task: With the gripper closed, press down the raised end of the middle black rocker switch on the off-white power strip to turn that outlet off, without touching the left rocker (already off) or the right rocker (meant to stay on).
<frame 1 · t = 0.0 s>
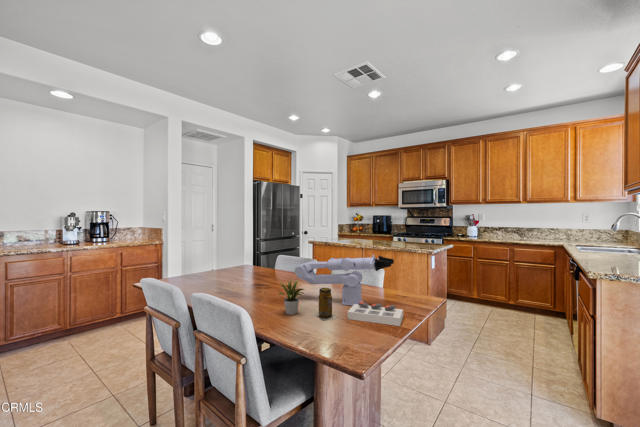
hand: (392, 262, 137), 22 cm above the table, tool horizontal, fingers open, 7 cm apart
condiment: (326, 316, 128), on the table
power strip: (375, 317, 125), on the table
house plant: (289, 314, 132), on the table
rocker right: (390, 307, 125), point 4 cm above the table, hinge at -12.0°
rocker middle: (376, 306, 127), point 4 cm above the table, hinge at -12.0°
rocker left: (363, 304, 130), point 4 cm above the table, hinge at 12.0°
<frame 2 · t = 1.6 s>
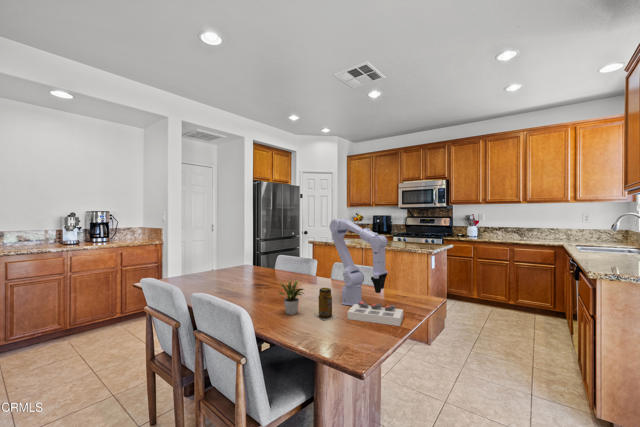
hand: (379, 290, 134), 9 cm above the table, tool pointing down, fingers open, 7 cm apart
nothing on the table moved.
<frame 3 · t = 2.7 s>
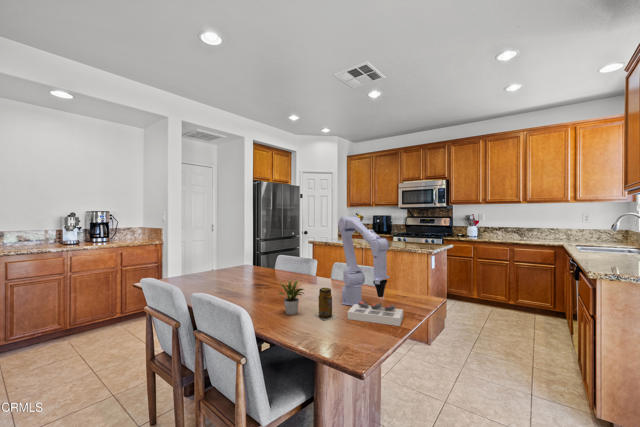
hand: (380, 296, 127), 9 cm above the table, tool pointing down, fingers closed
nothing on the table moved.
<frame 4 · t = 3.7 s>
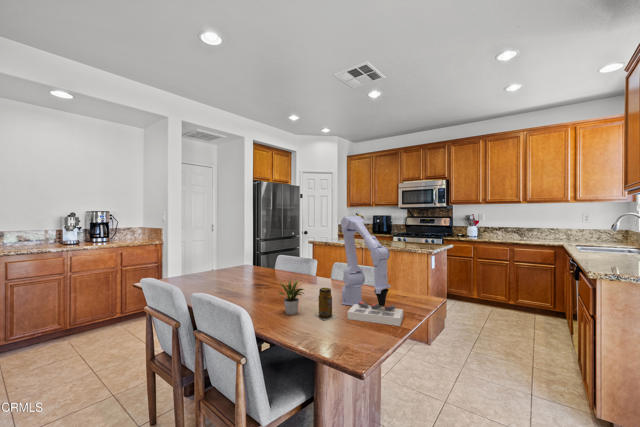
hand: (381, 305, 126), 5 cm above the table, tool pointing down, fingers closed, pressing on rocker middle
rocker middle: (376, 306, 127), point 4 cm above the table, hinge at -10.4°, touching gripper
everything else where it was.
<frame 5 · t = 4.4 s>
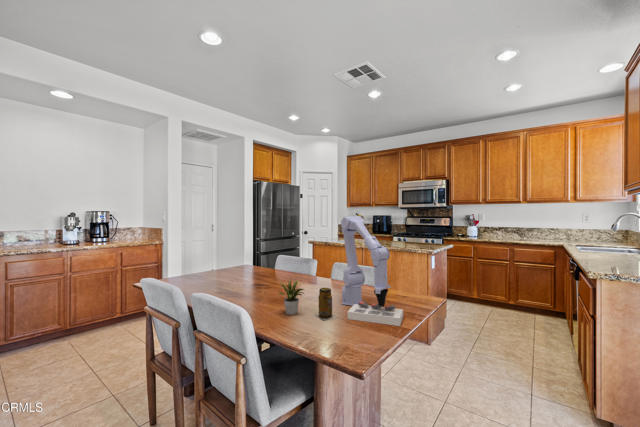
hand: (381, 306, 126), 5 cm above the table, tool pointing down, fingers closed, pressing on rocker middle
rocker middle: (376, 306, 127), point 4 cm above the table, hinge at -4.2°, touching gripper
everything else where it was.
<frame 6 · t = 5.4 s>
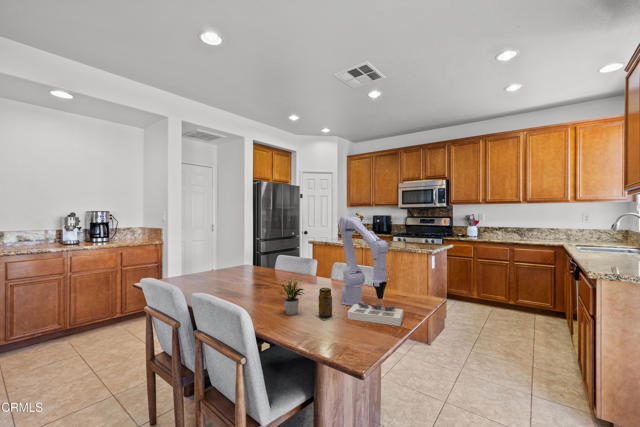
hand: (380, 298, 127), 8 cm above the table, tool pointing down, fingers closed
rocker middle: (376, 306, 127), point 4 cm above the table, hinge at 3.3°
everything else where it was.
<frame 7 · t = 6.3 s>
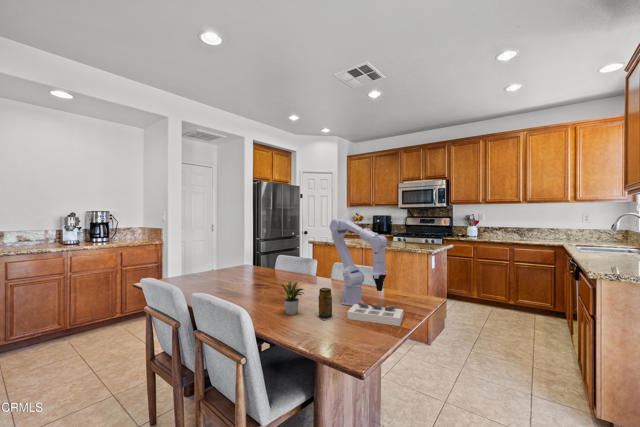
hand: (379, 290, 134), 9 cm above the table, tool pointing down, fingers closed
rocker middle: (376, 306, 127), point 4 cm above the table, hinge at 8.3°
everything else where it was.
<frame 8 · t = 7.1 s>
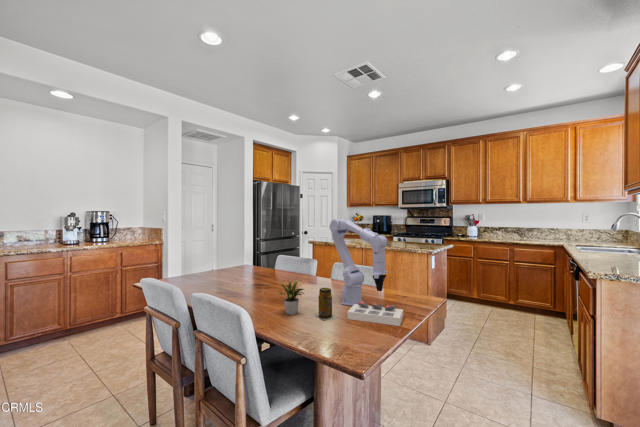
hand: (379, 290, 134), 9 cm above the table, tool pointing down, fingers closed
rocker middle: (376, 306, 127), point 4 cm above the table, hinge at 12.0°
everything else where it was.
at the end: rocker middle at +12° (first picture: -12°); rocker left at +12° (first picture: +12°); rocker right at -12° (first picture: -12°) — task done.
